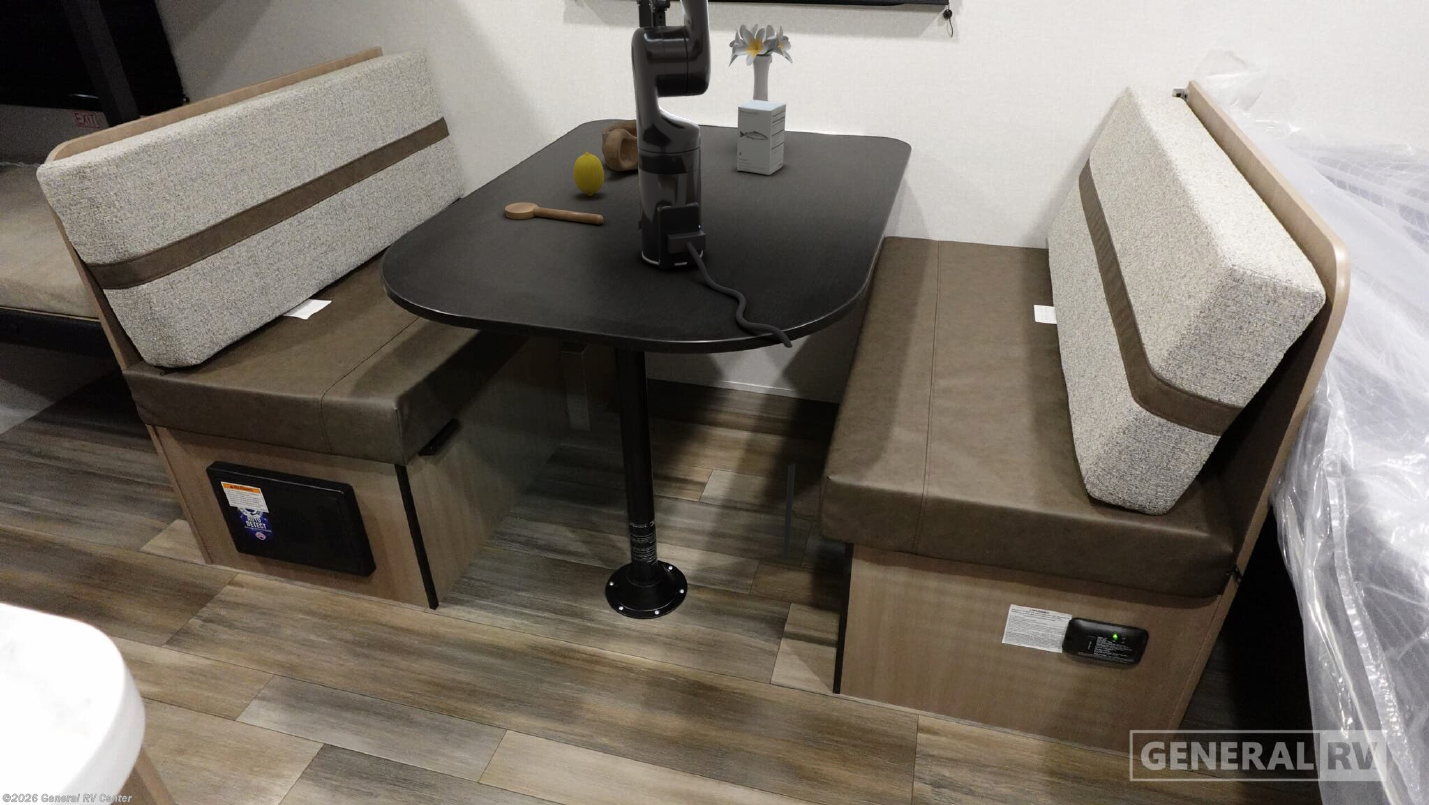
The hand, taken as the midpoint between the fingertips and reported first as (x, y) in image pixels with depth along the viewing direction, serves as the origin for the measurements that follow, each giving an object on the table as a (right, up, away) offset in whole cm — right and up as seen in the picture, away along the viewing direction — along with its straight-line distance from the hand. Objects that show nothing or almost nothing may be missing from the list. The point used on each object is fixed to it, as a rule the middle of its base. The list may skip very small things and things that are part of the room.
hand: (652, 32), depth 148 cm
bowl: (-6, -15, +30) cm, 34 cm away
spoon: (-17, -30, +4) cm, 35 cm away
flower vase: (+20, -7, +43) cm, 48 cm away
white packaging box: (+20, -15, +29) cm, 38 cm away
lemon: (-13, -24, +15) cm, 31 cm away
